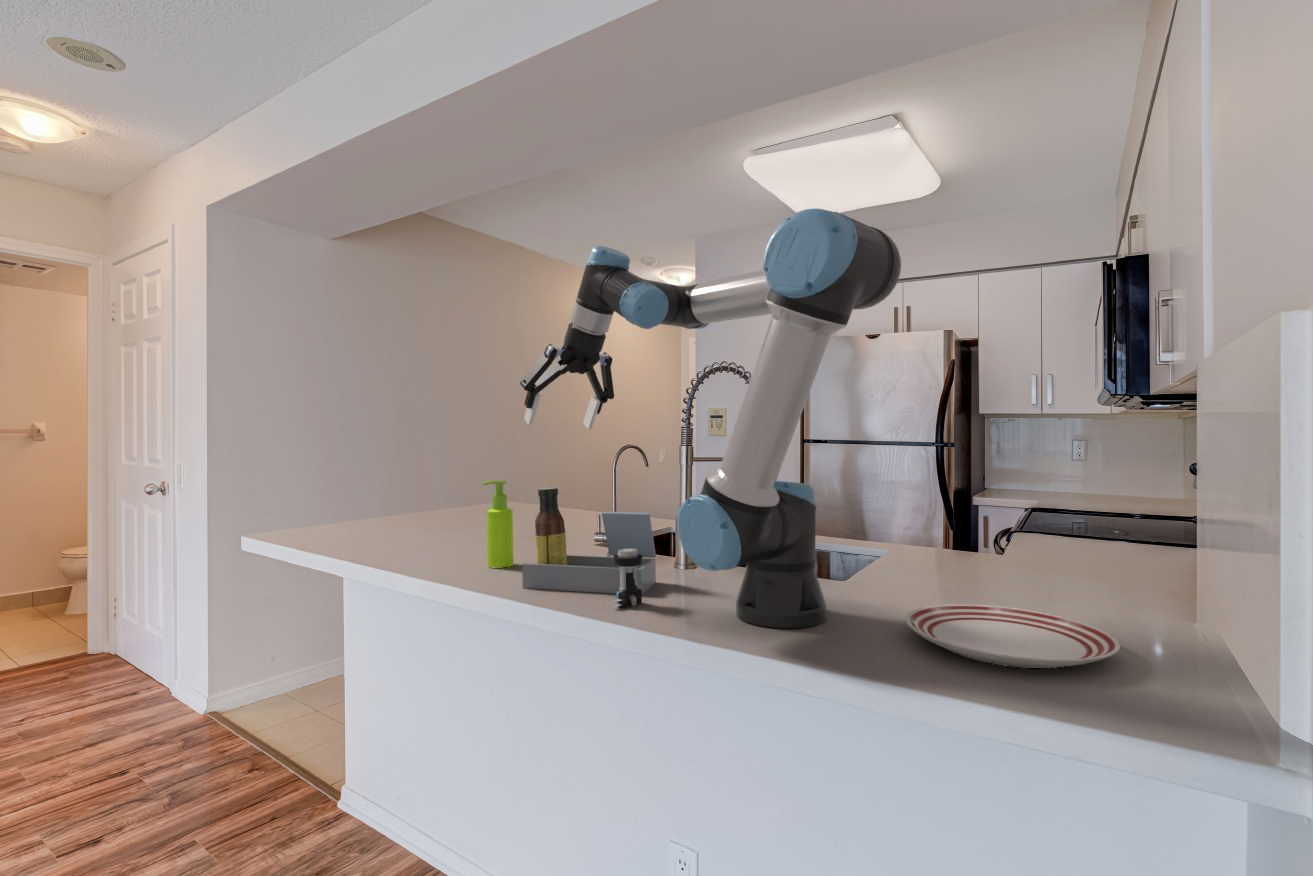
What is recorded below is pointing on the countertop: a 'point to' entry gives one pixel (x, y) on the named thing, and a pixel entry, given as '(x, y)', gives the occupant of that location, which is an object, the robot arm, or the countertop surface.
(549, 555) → the sauce bottle
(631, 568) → the push button
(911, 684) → the countertop surface
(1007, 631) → the dinner plate
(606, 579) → the grey shallow tray
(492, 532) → the soap dispenser
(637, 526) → the lid
